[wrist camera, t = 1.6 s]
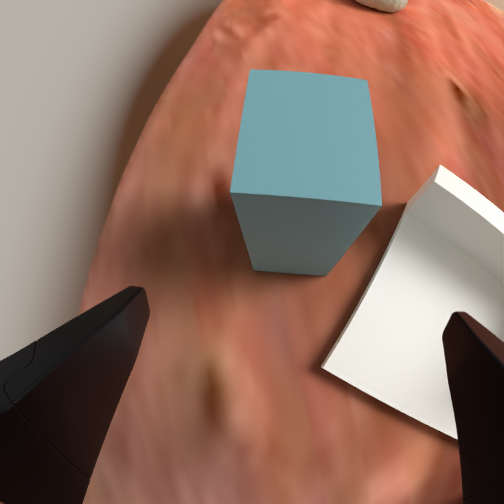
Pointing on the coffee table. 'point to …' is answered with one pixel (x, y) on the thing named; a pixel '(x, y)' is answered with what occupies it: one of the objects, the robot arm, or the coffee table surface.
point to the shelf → (425, 299)
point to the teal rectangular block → (304, 169)
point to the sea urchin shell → (385, 4)
